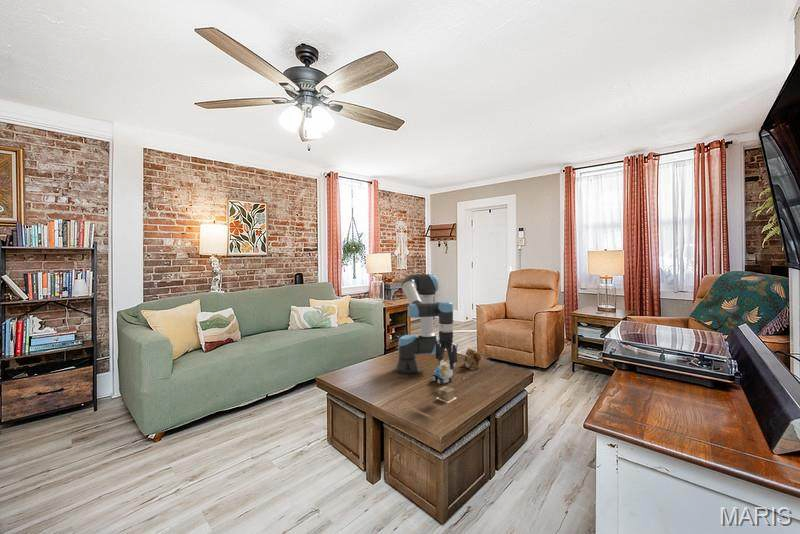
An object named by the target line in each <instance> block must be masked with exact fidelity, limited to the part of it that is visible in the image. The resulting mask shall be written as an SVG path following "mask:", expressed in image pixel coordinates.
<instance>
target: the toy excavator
mask: <svg viewBox="0 0 800 534" xmlns="http://www.w3.org/2000/svg"><path fill="white" fill-rule="evenodd" d="M444 362H447V363H450V362H449V358H448V359H447V360H444ZM456 363H457V362H456ZM456 363H454V367H456ZM431 377H432V381H434V382H436V383H437V384H438V385H443V384H447V383H452V382H453V380H452V379H453V378H452V376H450V377H448V378H446V377H443V376H440V366H439V365H438V366H436V367H435V370H434V372H433V375H432V376H431Z"/></svg>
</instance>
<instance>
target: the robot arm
mask: <svg viewBox="0 0 800 534" xmlns="http://www.w3.org/2000/svg"><path fill="white" fill-rule="evenodd" d="M401 290H402V293H403V294H405V297H406V300H407V302H408V306H407V314H408V316H409V318H416V319H417V318H420V332H419V333H418V336H416V335H415V334H405V335H402V336H400V337H399V338H398V342H397V343H398V344H397V346H398V360H397V365H396V367H395V368H396V370H395V371H396V372H397V373H399V374H402V375H412V374H416V373H418V372H419V365H418V362H417V355H419V356H420V355H433V354H435V359H437V360H438V366H440V364H442V363H444V362H445V360H444V354H445V350H446V351H447V356H448V359H449V362H450V363H448V376H451V375H452V376H453V374H454V373H453V371H454V363H457V362H458V349H457V348H458V346H459V345H458V344H457V343H454V341H453V339H454V332H453V331H454V307H453V306H454V305H453V304H454V303H453V302H452V301H436V302H434V296H435V295H436V292H438V290H439V283H438V279H437V277H436V275H435V274H430V273H427V274H424V273H423V274H420V273H419V274H410V275H408V276H406V277H405V278H404V279H403V280H402V283H401ZM435 317H437V318H438V336H437V335H436V333H435V331H434V318H435ZM452 376H451V377H452Z"/></svg>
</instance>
